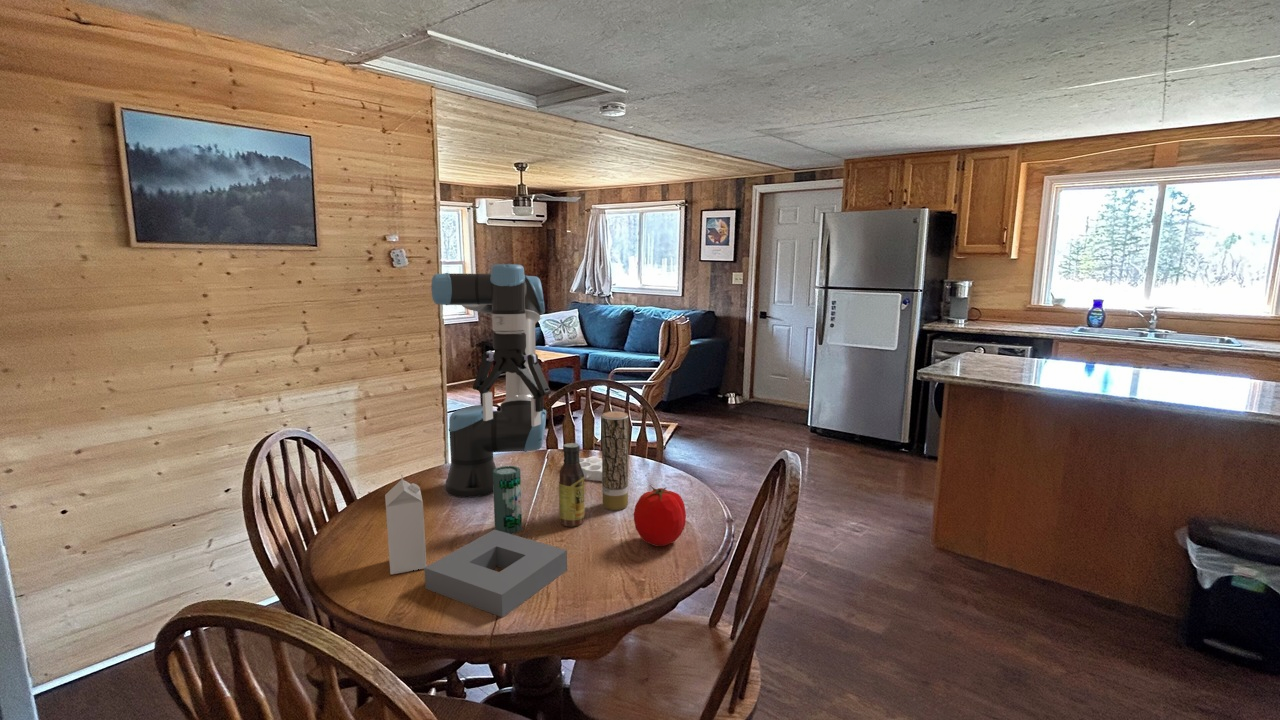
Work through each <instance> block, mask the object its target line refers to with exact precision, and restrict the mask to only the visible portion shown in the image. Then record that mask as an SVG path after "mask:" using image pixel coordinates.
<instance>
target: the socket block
mask: <svg viewBox="0 0 1280 720" xmlns="http://www.w3.org/2000/svg"><path fill="white" fill-rule="evenodd" d="M496 567H499V568H502V570H500V571H497V570H494V569H495V568H496ZM423 571H424V586H425V588H426V589H425V590H427V589H428V591H430V590H431V592H433V593H435V592H436V594H438V595H441V596H443V595H444V597H447V598H449V599H452V600H454V601H458V602H460V603H462V604H465V605H467V606H470V607H473V608H476V609H478V610H481V611H483V612H486V613H490V614H492V615H495V616H497V617H500V618H504V617H505V616H507V615H508V614H509V613H511V612H512V611H513V610H515V609H516V608H518V607H519V606H521V605H522V604H523V603H525V602H526V601H527V600H529V599H530V598H531V597H533V596H534V595H535V594H537V593H538V592H539V591H542V589H544V588H545V587H547V585H549V584H551V583H552V582H554V580H556V579H557V578H559V577H560V576H561V575H563V574H564V573H565V572H567V571H568V550H567V549H564V548H560V547H557V546H555V545H550V544H548V543H547V544H546V543H544V542H540V541H536V540H533V539H531V538H530V539H529V538H525V537H521V536H519V535H516V534H509V533H505V532H502V531H498V530H495V529H493V530H491V531H489V532H488V533H485V534H484V535H482V536H480V537H478V538H476V539H474V540H473V541H470V542H468V543H467V544H465V545H464V546H461V547H460V548H458V549H456V550H454V551H452V552H450V553H449V554H446V555H445V556H443V557H442V558H439V559H438V560H436V561H434V562H432V563H430V564H429V565H426V567H425V568H424V569H423Z"/></svg>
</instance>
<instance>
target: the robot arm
mask: <svg viewBox="0 0 1280 720" xmlns="http://www.w3.org/2000/svg"><path fill="white" fill-rule="evenodd" d="M430 286H431V287H430V289H431V291H430V292H431V298H432V301H433V303H434V304H436V305H440V306H442V305H443V306H462V307H463V308H465V309H467V310H469V311H473V312H477V313H483V314H490V315H491V317H492V319H491V322H492V324H491V325H492V331H493V332H494V333H493V334H492V348H493V349H494V351H492V350H489V351H483V353H482V358H481V359H482V360H481V364H480V367H479V368H478V369H479V370H478V372H477V374H476V376H475V379H474V382H473V385H472V389H473V390H474V391H477V392H479V396H480V397H479V400H480V404H477V405H471V406H467V407H463V408H459V409H458V410H456V411H454V412H452V413H451V414H450V416H449V425H448V427H449V428H448V432H449V445H450V446H449V447H450V449H449V450H450V467H449V469H448V475H447V478H446V480H445V492H446V493H447V494H448V495H450V496H453V497H458V498H476V497H477V498H478V497H483V496H487V495H490V494H492V493H493V494H494V492H493V470H494V469H496V468H497V465H496V464H495V461H494V460H495V459H494V453H510V452H511V453H512V452H525V453H527V452H531V451H538V450H540V449H542V447H543V445H544V439H545V432H546V420H547V410H546V409H544V397H545V396H548V395H550V394H551V392H552V391H551V388H550V387H549V383H548V381H547V379H546V376H545V375H544V372H543V371H542V368H541V365H540V363H539V362H540V361H539V356H538V354H537V353H536V324H537V323H538V322H539V321H540V320H541V315H543V314H545V312H546V309H545V307H546V305H545V300H544V293H543V292H544V291H543V286H542V282H541V279H540V278H539V277H538V276H535V275H534V276H533V275H526V274H525V269H524V266H523V265H522V264H511V263H507V264H501V263H500V264H493V265H492V266H491V268H490V273H449V272H444V273H434V275H433V276H432V278H431V285H430ZM493 361H494V362H495V364H494V366H493V367H492V365H493ZM490 370H491V371H490ZM502 373H505V399H504V400H503V401H502V402H501V403H500V408H499V409H500V410H495V411H494V408H493V407H494V402H493V391H492V390H491V389H492V387H493V386H494V385H495V383H496V382H497V380H498V379H499V377H500V376H501V374H502Z"/></svg>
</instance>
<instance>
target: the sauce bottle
mask: <svg viewBox="0 0 1280 720" xmlns="http://www.w3.org/2000/svg"><path fill="white" fill-rule="evenodd" d="M580 448H581V447H580V444H579V443H576V442H571V443H570V442H569V443H568V442H567V443H565V444H563V446H562V449H563V450H562V452H563V464H562V466H561V467H560V469H559V473H558V474H559V476H558V477H559V482H558V514H559V522H560V524H561V525H562V526H565V527H577V526H580V525H582V524H583V523H584V521H585V518H584V517H585V478H584V473H583V471H582V468H581V465H580V462H579V461H580V460H579V458H580V451H581V449H580Z"/></svg>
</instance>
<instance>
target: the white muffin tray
mask: <svg viewBox="0 0 1280 720" xmlns="http://www.w3.org/2000/svg"><path fill="white" fill-rule="evenodd" d="M579 460H580V461H579V462H580V465H581V468H582V471H583V473H584V480H587V481H588V480H589V481H599V482H602V458H601V457H598V456H596V455H593V456H589V457H586V458H585V457H584V458H581V457H579Z"/></svg>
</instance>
